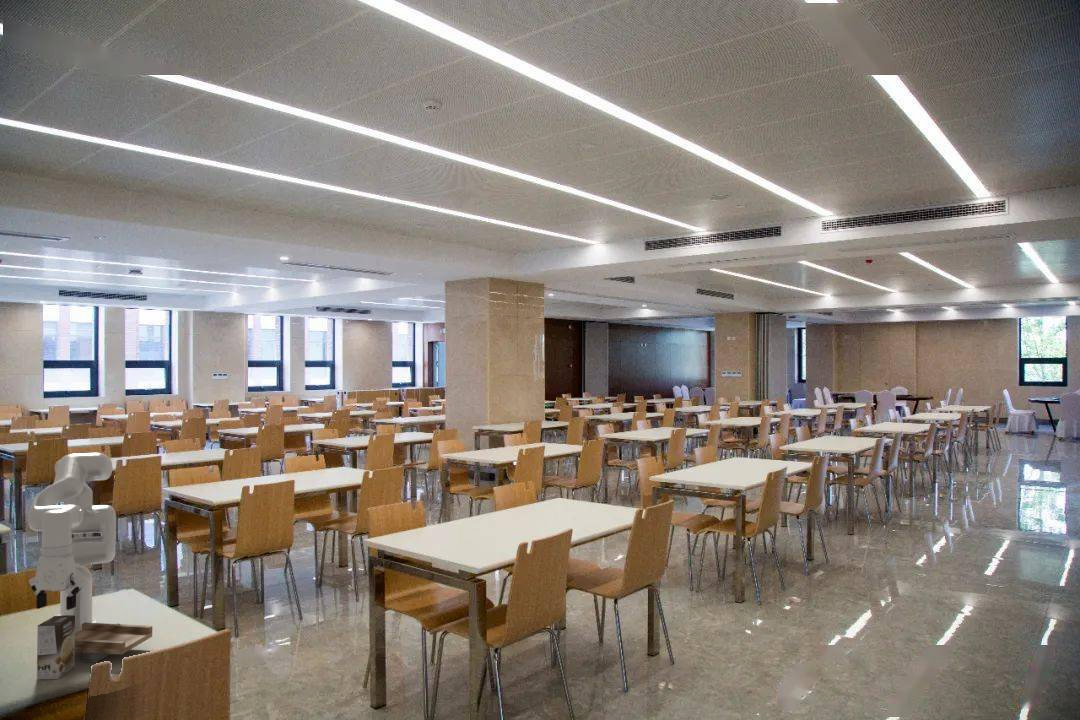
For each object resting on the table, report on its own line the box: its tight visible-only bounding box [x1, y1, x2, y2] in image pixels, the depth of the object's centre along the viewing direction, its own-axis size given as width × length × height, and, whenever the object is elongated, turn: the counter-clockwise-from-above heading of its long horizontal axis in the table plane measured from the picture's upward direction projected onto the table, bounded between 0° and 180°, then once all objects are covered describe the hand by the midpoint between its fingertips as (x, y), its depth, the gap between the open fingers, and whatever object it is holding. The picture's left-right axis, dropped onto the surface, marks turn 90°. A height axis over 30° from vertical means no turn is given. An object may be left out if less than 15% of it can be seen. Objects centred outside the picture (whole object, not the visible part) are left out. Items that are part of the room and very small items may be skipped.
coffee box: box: [36, 615, 76, 680], centre depth 226 cm, size 9×6×16 cm
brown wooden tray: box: [75, 622, 153, 663], centre depth 240 cm, size 24×15×7 cm, turn 84°
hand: (56, 607), depth 225 cm, fingers open, 9 cm apart
